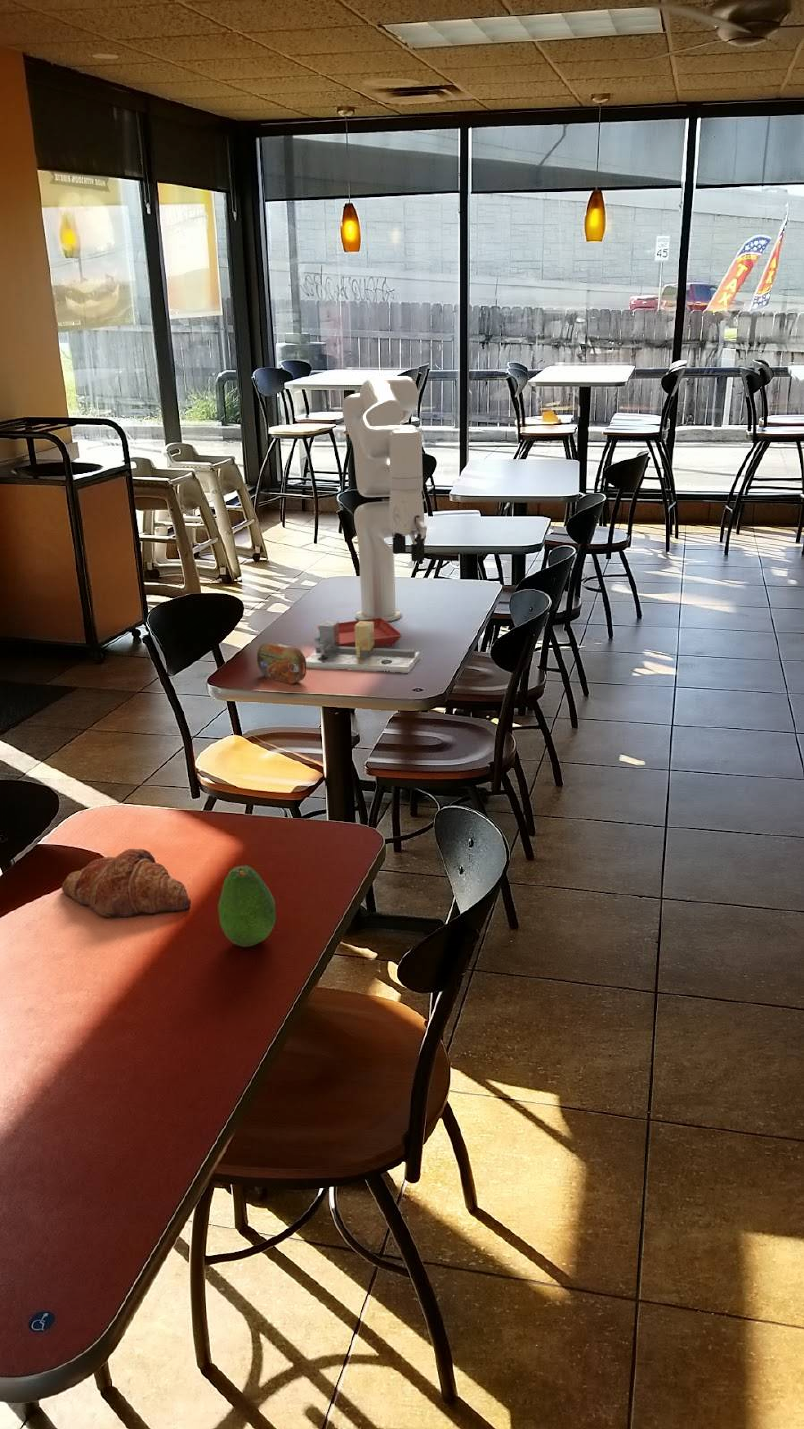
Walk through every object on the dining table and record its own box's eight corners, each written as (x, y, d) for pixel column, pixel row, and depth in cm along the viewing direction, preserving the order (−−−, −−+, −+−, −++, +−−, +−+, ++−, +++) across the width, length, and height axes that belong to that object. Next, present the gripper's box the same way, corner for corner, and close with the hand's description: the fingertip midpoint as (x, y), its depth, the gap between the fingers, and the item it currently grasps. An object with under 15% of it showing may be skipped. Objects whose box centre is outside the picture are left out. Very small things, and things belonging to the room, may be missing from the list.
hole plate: (319, 653, 287) (317, 619, 284) (419, 657, 281) (418, 623, 278) (303, 667, 276) (301, 633, 273) (408, 673, 270) (407, 637, 267)
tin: (257, 675, 273) (254, 641, 270) (267, 671, 275) (264, 638, 272) (299, 687, 263) (297, 652, 260) (309, 684, 265) (307, 649, 262)
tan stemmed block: (360, 648, 283) (359, 621, 281) (374, 649, 282) (373, 621, 280) (350, 658, 275) (349, 630, 273) (365, 659, 275) (364, 631, 272)
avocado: (211, 952, 158) (203, 875, 154) (238, 924, 165) (231, 849, 160) (262, 962, 155) (256, 884, 151) (288, 933, 162) (283, 857, 158)
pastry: (76, 938, 163) (69, 889, 160) (61, 890, 176) (54, 844, 173) (192, 911, 169) (187, 863, 166) (169, 867, 182) (164, 822, 179)
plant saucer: (335, 656, 286) (334, 643, 285) (316, 637, 302) (315, 625, 301) (403, 647, 291) (403, 634, 290) (381, 629, 307) (381, 617, 306)
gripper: (375, 481, 271) (378, 552, 277) (408, 490, 257) (411, 565, 262) (404, 478, 274) (406, 548, 280) (438, 487, 260) (439, 561, 266)
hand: (408, 556), depth 271 cm, fingers open, 9 cm apart
